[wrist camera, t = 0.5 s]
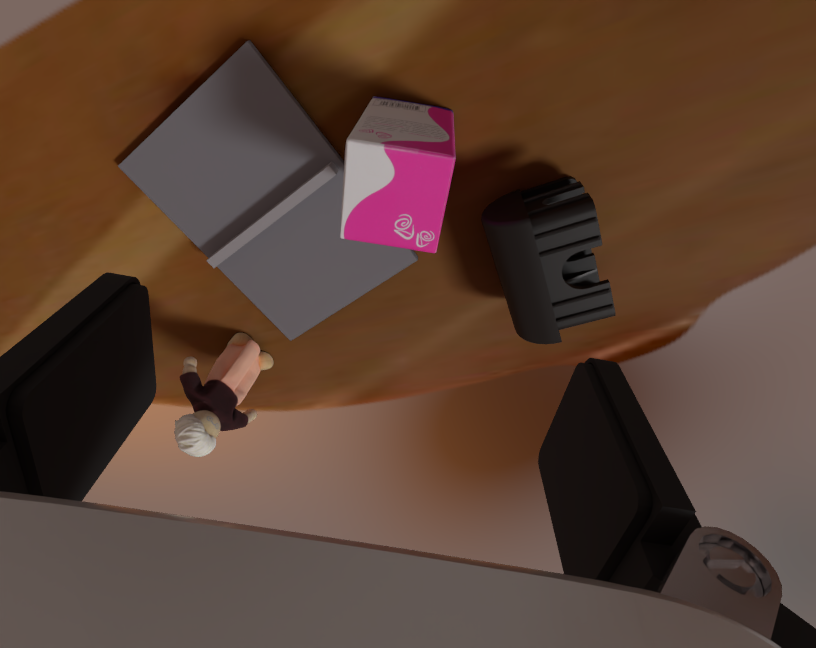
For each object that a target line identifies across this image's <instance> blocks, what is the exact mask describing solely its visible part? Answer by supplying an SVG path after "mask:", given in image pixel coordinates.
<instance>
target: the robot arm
mask: <svg viewBox="0 0 816 648" xmlns="http://www.w3.org/2000/svg"><path fill="white" fill-rule="evenodd" d="M155 393H156V376H155V365H154V353H153V342H152V330H151V319H150V307H149V296H148V290H147V288H146V287H145V286H143V285H140V282H139V280H138V279H137V278H136V277H131V276H125V275H120V274H114V273H105V274H103V275H102V276H100V277H99V278H98V279H97V280H95V281H94V282H93V283H92V284H90V285H89V286H88V287H87V288H85V289H84V290H83V291H82V292H81V293H79V294H78V295H77V296H76V297H74V298H73V299H72V300H71V301H69V302H68V303H67V304H66V305H64V306H63V307H62V308H61V309H59V310H58V311H57V312H56V313H54V314H53V315H52V316H51V317H49V318H48V319H47V320H46V321H44V322H43V323H42V324H41V325H39V326H38V327H37V328H36V329H35V330H33V331H32V332H31V333H30V334H28V335H27V336H26V337H25V338H23V339H22V340H21V341H20V342H18V343H17V344H16V345H15V346H13V347H12V348H11V349H10V350H8V351H7V352H6V353H5V354H3V355H2V356H1V357H0V648H816V629H815V628H814V627H813V626H811V625H810V624H809V623H807V622H806V621H804V620H803V619H802V618H800V617H799V616H798V615H796V614H795V613H794V612H792V611H791V610H790V609H788V608H787V607H785V606H784V605H783V604H781V603H780V601H781V597H782V585H781V582H780V580H779V577H778V575H777V573H776V571H775V570H774V568H773V567H772V566H771V564H770V563H769V561H768V560H767V559H766V558H765V557H764V556H763V555H762V554H761V553H760V552H759V551H758V550H757V549H756V548H755V547H753V546H752V545H751V544H749V543H748V542H747V541H745V540H744V539H742V538H740V537H739V536H737V535H735V534H733V533H731V532H729V531H726V530H723V529H720V528H717V527H701V525H700V523H699V521H698V519H697V517H696V516H695V512H696V511H695V509H694V507H693V506H692V503H691V501H690V499H689V498H688V496H687V494H686V492H685V490H684V488H683V486H682V484H681V483H680V481H679V479H678V477H677V475H676V473H675V471H674V469H673V467H672V465H671V464H670V462H669V460H668V458H667V456H666V454H665V452H664V450H663V448H662V447H661V445H660V443H659V441H658V439H657V437H656V435H655V433H654V431H653V429H652V427H651V425H650V424H649V422H648V420H647V418H646V416H645V414H644V412H643V410H642V408H641V407H640V405H639V403H638V401H637V399H636V397H635V395H634V393H633V391H632V389H631V388H630V386H629V384H628V382H627V380H626V378H625V376H624V374H623V372H622V371H621V369H620V367H619V365H618V364H617V363H616V362H612V361H606V360H600V359H595V358H589V359H588V360H587V361H586V362H585V363H579V364H578V365H577V366H576V368H575V371H574V373H573V375H572V377H571V380H570V382H569V384H568V387H567V389H566V391H565V393H564V396H563V398H562V400H561V403H560V405H559V407H558V410H557V412H556V415H555V416H554V419H553V421H552V424H551V426H550V428H549V430H548V433H547V435H546V437H545V440H544V442H543V444H542V446H541V449H540V452H539V460H538V462H539V463H538V464H539V469H540V473H541V477H542V482H543V486H544V490H545V494H546V499H547V503H548V507H549V512H550V516H551V520H552V524H553V529H554V533H555V537H556V541H557V545H558V550H559V554H560V558H561V562H562V567H563V571H564V574H560V573H554V572H548V571H542V570H536V569H530V568H524V567H518V566H511V565H505V564H499V563H492V562H486V561H479V560H472V559H466V558H460V557H454V556H447V555H441V554H435V553H428V552H422V551H415V550H409V549H403V548H396V547H389V546H383V545H376V544H369V543H363V542H356V541H350V540H342V539H336V538H330V537H323V536H317V535H310V534H303V533H296V532H290V531H283V530H277V529H270V528H263V527H256V526H250V525H243V524H236V523H229V522H223V521H216V520H209V519H202V518H195V517H188V516H180V515H174V514H167V513H160V512H153V511H147V510H140V509H133V508H126V507H119V506H112V505H105V504H97V503H89V502H82V500H83V499H84V497H85V496H86V494H87V493H88V492H89V490H90V489H91V487H92V486H93V485H94V483H95V482H96V480H97V479H98V477H99V476H100V475H101V473H102V472H103V470H104V469H105V468H106V466H107V465H108V463H109V462H110V461H111V459H112V458H113V456H114V455H115V454H116V452H117V451H118V449H119V448H120V447H121V445H122V444H123V442H124V441H125V440H126V438H127V437H128V435H129V434H130V432H131V431H132V430H133V428H134V427H135V426H136V424H137V423H138V421H139V420H140V419H141V417H142V416H143V414H144V413H145V412H146V410H147V409H148V407H149V406H150V405H151V403H152V401H153V399H154V397H155Z"/></svg>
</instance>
